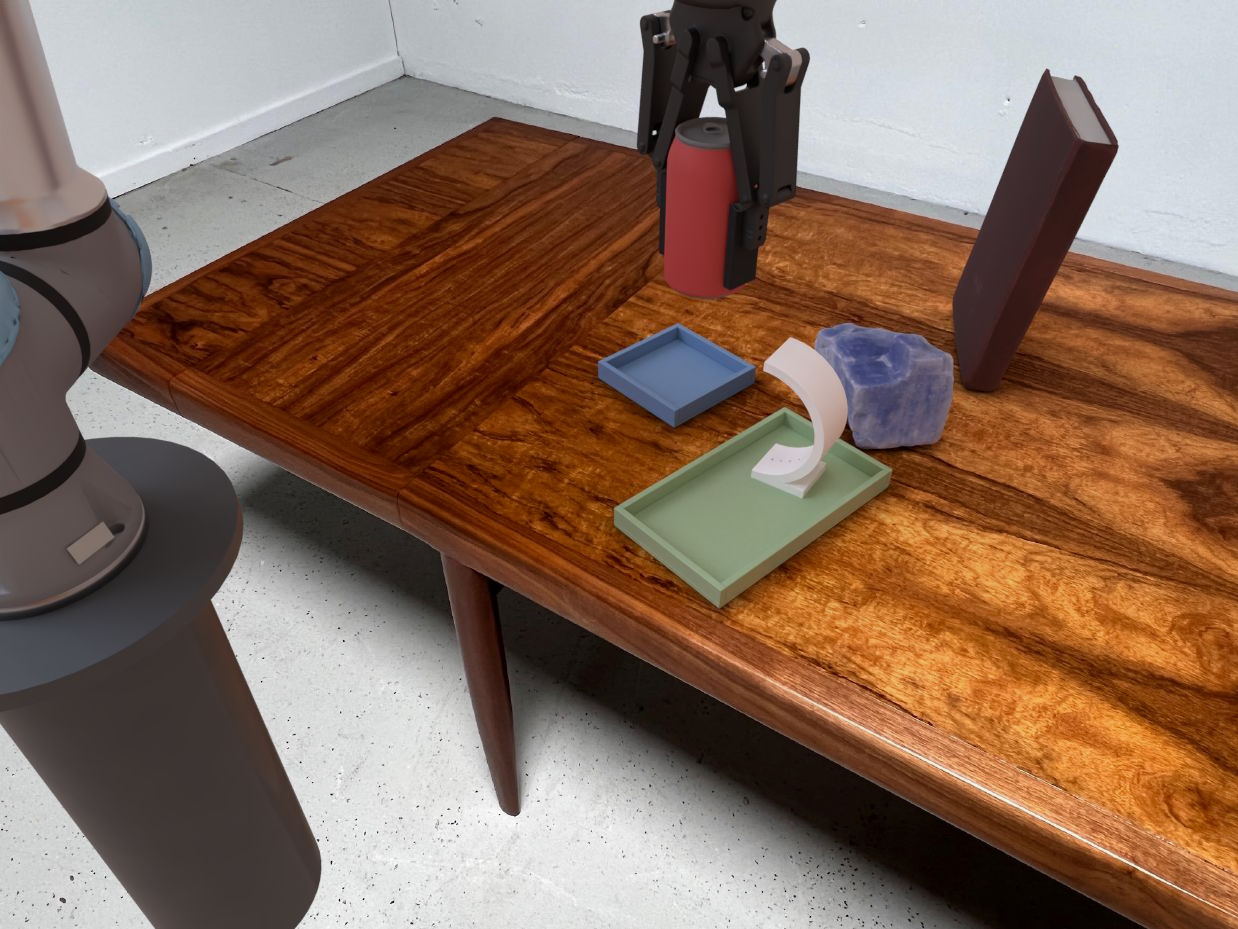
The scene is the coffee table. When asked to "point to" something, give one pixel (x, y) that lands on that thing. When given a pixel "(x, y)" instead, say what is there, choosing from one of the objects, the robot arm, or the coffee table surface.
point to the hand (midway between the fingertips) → (705, 265)
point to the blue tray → (676, 374)
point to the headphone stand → (826, 410)
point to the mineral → (890, 384)
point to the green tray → (745, 508)
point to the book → (1029, 225)
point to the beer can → (699, 208)
